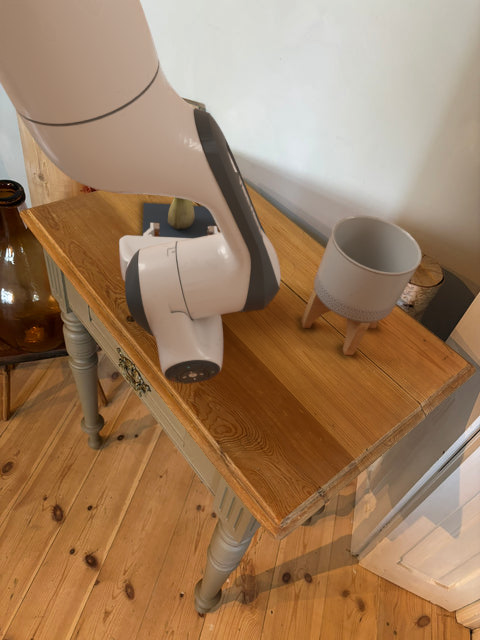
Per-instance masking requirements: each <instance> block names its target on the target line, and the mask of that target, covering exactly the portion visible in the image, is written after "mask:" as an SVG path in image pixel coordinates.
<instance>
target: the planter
mask: <svg viewBox="0 0 480 640" xmlns="http://www.w3.org/2000/svg"><path fill="white" fill-rule="evenodd" d="M421 261H422V250H421V247H420V245H419V243H418V242H417V240H416V239H415V238H414V237H413V236H412V235H411V234H410V233H409V232H408V231H407V230H405V229H404V228H403V227H401V226H400V225H397V224H395V223H393V222H392V221H389V220H386V219H384V218H380V217H377V216H373V215H367V214H366V215H364V214H355V215H349V216H346V217H343V218H341V219H340V220H338V221H337V222H336V223H334V226H333V228H332V230H331V233H330V236H329V238H328V241H327V243H326V246H325V249H324V252H323V255H322V257H321V260H320V263H319V266H318V268H317V271H316V273H315V277H314V279H313V288H312V291H311V293H310V296H309V299H308V302H307V305H306V307H305V310H304V312H303V315H302V318H301V320H300V322H301V326H302V328H307V329H310V328H311V327H312V325H313V323H314V322H315V321H316V320H317V319H319V318H320V317H321V316H323V315H325V314H327V313H329V312H333V313H334V314H336V315H338V316H339V317H341V318H344V319H346V335H345V339H344V344H343V347H342V352H343V355H344V356H354V355H355V352H356V350H357V349H358V347H359V345H360V343H361V341H362V340H363V338H364V335H365V334H366V332H367V330H368V329H376V327H378V324H379V322H380V321H382V320H384V319H385V318H388V317H389V315H390V314H391V313H392V312H393V310H394V309H395V307H396V306H397V303H398V301H399V300H400V298H401V296H402V294H403V293H404V291H405V290H406V288H407V287H408V284H409V283H410V281H411V279H412V277H413V276H414V274H415V272H416V271H417V269H418V267H419V266H420V264H421Z"/></svg>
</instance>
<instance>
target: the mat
mask: <svg viewBox="0 0 480 640" xmlns="http://www.w3.org/2000/svg"><path fill="white" fill-rule="evenodd" d="M171 204H172V203H151V202H143V207H142V208H143V210H142V213H143V215H142V235H143V234H144V233H145V232H146V231H147V230H148V229H149V228H150V223H159V237H173V238H198V237H203V236H207V230H208V226H216V222H215V220H214V218H213V216H212V214H211V213H210V211H209V210H208V209H207V208H206V207H204V206H203V205H193V208H194V221H193V223H192V225H191V226H190V227H188V228H185V229H175V228H173V227H172V226H170V225H169V223H168V212H169V209H170V206H171Z"/></svg>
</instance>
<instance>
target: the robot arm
mask: <svg viewBox="0 0 480 640" xmlns="http://www.w3.org/2000/svg"><path fill="white" fill-rule="evenodd" d="M0 85H1V87H2V88H3V90H4V92H5V94H6V95H7V97H8V99H9V100H10V102H11V104H12V105H13V107H14V109H15V111H16V112H17V114H18V116H19V118H20V120H21V121H22V123H23V124H24V126H25V128H26V130H27V131H28V133H29V134H30V136H31V137H32V139H33V140H34V142H35V143H36V145H37V146H38V147H39V149H40V150H41V152H42V153H43V155H45V157H46V158H47V159H48V160H49V161H50V162H51V163H52V164H53V165H54V166H55V167H56V168H57V169H58V170H59V171H60V172H61V173H62V174H64V175H65V176H67V177H68V178H70V179H71V180H73V181H75V182H76V183H78V184H81V185H83V186H86V187H88V188H92V189H94V190H97V191H102V192H106V193H111V194H120V195H150V196H151V195H152V196H159V197H160V196H162V197H169V198H170V197H171V198H174V197H176V198H181V199H186V200H190V201H192V202H194V203H196V204H199V205H200V206H204V207H206V208H207V209H208V210H209V211H210V213H211V214H212V216H213V218H214V220H215V226H208V230H207V236H203V237H198V238H173V237H159V223H150V228H149V229H148V230H147V231H146V232H145V233H144V234H143V233H142V235H129V234H126V235H123V236H122V237H120V238H119V240H118V247H119V248H118V249H119V250H118V251H119V266H120V273H121V278H122V280H123V281H124V291H125V302H126V305H127V309H128V312H129V314H130V316H131V317H132V319H133V321H134V322H135V323H136V324H137V325H138V326H139V327H141V329H143V330H144V331H145V332H146V333H147V334H149V335H150V336H152V337H154V338H155V342H156V346H157V347H156V348H157V353H158V354H157V355H158V359H159V364H160V370H161V373H162V375H163V377H164V378H165V379H166V380H167V381H170V382H172V383H176V384H181V385H182V384H183V385H188V384H196V383H202V382H205V381H208V380H211V379H212V378H215V377H216V376H218V374H219V373H221V371H222V368H223V363H224V362H223V361H224V329H223V328H224V327H223V320H222V315H225V314H231V313H236V312H237V313H238V312H239V313H243V312H244V313H245V312H254V311H263V310H264V309H266V307H267V306H268V305H270V303H271V302H272V301H273V300H274V298H275V297H276V296H277V294H278V292H279V291H280V289H281V280H282V275H281V274H282V272H281V271H282V270H281V265H280V261H279V257H278V254H277V252H276V249H275V247H274V245H273V243H272V242H271V240H270V239H269V237H268V235H267V233H266V231H265V229H264V227H263V225H262V222H261V221H260V219H259V216H258V213H257V210H256V208H255V205H254V204H253V201H252V199H251V198H252V197H251V196H250V193H249V191H248V189H247V186H246V183H245V180H244V178H243V175H242V172H241V170H240V169H239V166H238V163H237V161H236V158H235V156H234V154H233V152H232V149H231V146H230V145H229V142H228V141H227V138H226V136H225V134H224V132H223V130H222V128H221V127H220V126H219V124H218V122H217V121H216V119H215V118H214V117H213V116H212V114H211V113H210V112H207V111H205V110H202V109H199V108H197V107H193V106H192V105H191V104H190V103H188V102H187V101H186V100H185V99H184V98H183V97H182V96H181V95H180V94H179V93H178V91H176V90H175V88H174V87H173V86H172V85H171V83H170V82H169V80H168V78H167V76H166V75H165V73H164V71H163V68H162V65H161V62H160V59H159V56H158V52H157V48H156V44H155V42H154V38H153V35H152V31H151V27H150V26H149V23H148V20H147V17H146V14H145V11H144V9H143V5H142V3H141V1H140V0H0ZM218 230H219V231H218Z"/></svg>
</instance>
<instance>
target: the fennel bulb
mask: <svg viewBox="0 0 480 640" xmlns="http://www.w3.org/2000/svg"><path fill="white" fill-rule="evenodd" d="M170 204H171V206H170V209H169V212H168V223H169V225H170V226H172V227H173V228H175V229H185V228H188V227H190V226H191V225H192V223H193V221H194V208H193V206H194V204H193V201H190V200H186V199H181V198H176V197H173V199H172V201H171V203H170Z"/></svg>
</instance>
